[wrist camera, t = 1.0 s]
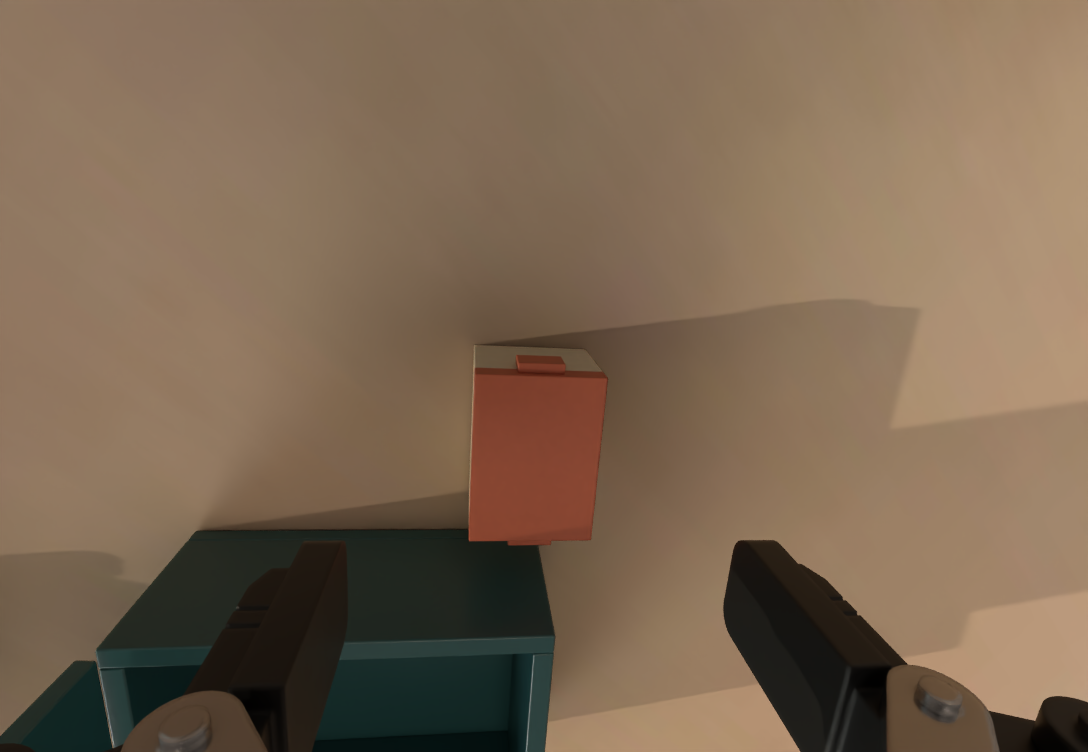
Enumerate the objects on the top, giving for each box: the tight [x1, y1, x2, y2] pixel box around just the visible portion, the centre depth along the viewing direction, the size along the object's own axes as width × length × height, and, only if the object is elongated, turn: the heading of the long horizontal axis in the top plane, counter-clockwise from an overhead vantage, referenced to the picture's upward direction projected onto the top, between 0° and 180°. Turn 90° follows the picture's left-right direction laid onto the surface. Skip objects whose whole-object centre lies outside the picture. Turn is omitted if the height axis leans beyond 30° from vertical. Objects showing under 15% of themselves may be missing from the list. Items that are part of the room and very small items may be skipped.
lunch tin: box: [96, 530, 555, 752], centre depth 25 cm, size 16×13×7 cm
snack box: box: [469, 345, 608, 545], centre depth 24 cm, size 8×5×4 cm, turn 176°
